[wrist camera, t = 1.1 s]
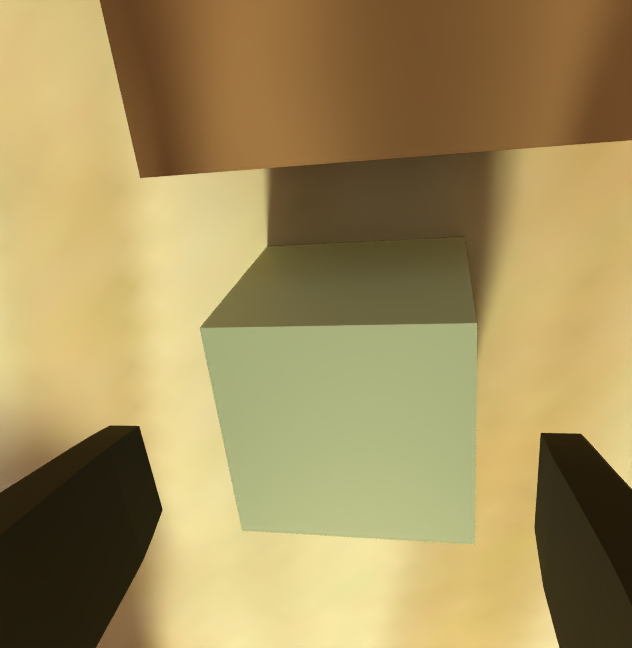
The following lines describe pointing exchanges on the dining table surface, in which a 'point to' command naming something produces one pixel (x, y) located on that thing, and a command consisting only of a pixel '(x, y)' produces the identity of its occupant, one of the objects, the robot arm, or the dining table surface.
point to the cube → (350, 390)
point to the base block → (365, 78)
